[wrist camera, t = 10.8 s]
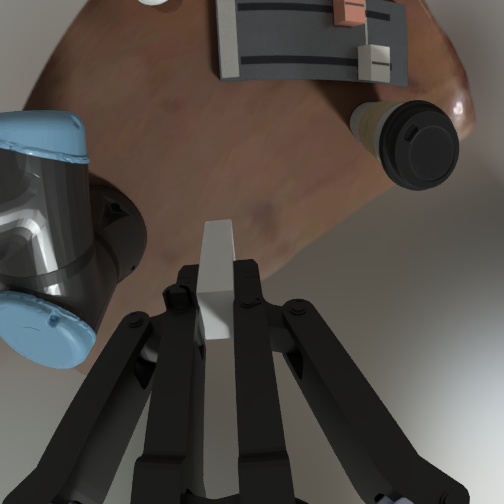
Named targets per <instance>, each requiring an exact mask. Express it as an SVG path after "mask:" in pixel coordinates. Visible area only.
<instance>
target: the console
mask: <svg viewBox="0 0 504 504" xmlns="http://www.w3.org/2000/svg"><path fill="white" fill-rule="evenodd" d="M215 1H216V19H217V35H218V51H219V67H220V81H221V82H229V81H244V80H267V79H317V80H340V81H355V82H367V83H377V84H386V85H395V86H402V87H408V51H407V25H406V10H405V5H402V4H398V3H394V2H389V1H384V0H364V4H365V19H366V23H364V24H361V25H358V26H355V27H348V26H339V25H334V9H333V0H215ZM370 44H371V45H379V46H385V47H389V48H390V83H388V82H379V81H370V80H358V46H364V45H370Z"/></svg>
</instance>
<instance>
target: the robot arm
mask: <svg viewBox="0 0 504 504" xmlns="http://www.w3.org/2000/svg"><path fill="white" fill-rule="evenodd" d="M88 163H89V156H88V155H87V148H86V136H85V125H84V122H83V121H82V119H81V118H80V117H79V116H78V115H77V114H75V113H73V112H69V111H60V110H31V111H14V112H5V113H0V336H1V338H2V339H3V340H4V341H5V342H6V343H7V344H8V345H9V346H11V347H12V348H13V349H14V350H16V351H17V352H18V353H20V354H22V355H23V356H24V357H26V358H28V359H30V360H32V361H34V362H36V363H39V364H42V365H44V366H48V367H52V368H62V369H64V368H72V367H74V366H76V365H78V364H80V363H82V362H83V361H84V360H85V358H86V357H87V355H88V353H89V351H90V349H91V347H92V346H93V344H94V343H95V341H96V335H97V332H98V329H99V327H100V324H101V322H102V319H103V317H104V314H105V312H106V309H107V307H108V304H109V302H110V299H111V297H112V295H113V292H114V290H115V288H116V285H117V284H118V283H120V282H121V281H122V280H123V279H124V278H125V277H127V276H128V275H130V274H131V273H132V272H133V271H134V270H135V269H136V267H137V266H138V265H139V263H140V261H141V259H142V256H143V254H144V252H145V248H146V244H147V231H146V226H145V223H144V220H143V218H142V216H141V214H140V212H139V211H138V209H137V208H136V206H135V205H134V204H133V203H132V202H131V201H130V200H129V199H128V198H127V197H126V196H124V195H123V194H121V193H120V192H118V191H116V190H114V189H112V188H109V187H105V186H99V185H90V186H89V177H88ZM162 294H163V298H164V301H165V305H166V308H167V309H166V312H164V313H162V314H160V315H157V316H153V317H149V315H148V314H147V313H145V312H142V311H136V312H132V313H130V314H128V315H126V316H125V317H124V318H123V319H122V321H121V322H120V324H119V325H118V327H117V328H116V330H115V332H114V333H113V335H112V336H111V338H110V339H109V341H108V343H107V344H106V346H105V347H104V349H103V351H102V352H101V354H100V355H99V357H98V359H97V360H96V362H95V364H94V365H93V367H92V368H91V370H90V372H89V373H88V375H87V377H86V379H85V380H84V382H83V383H82V385H81V387H80V389H79V391H78V392H77V394H76V396H75V397H74V399H73V401H72V402H71V404H70V406H69V408H68V410H67V411H66V413H65V415H64V416H63V418H62V420H61V422H60V424H59V426H58V427H57V429H56V431H55V433H54V435H53V437H52V438H51V440H50V442H49V444H48V446H47V448H46V450H45V452H44V454H43V455H42V457H41V459H40V461H39V463H38V465H37V467H36V469H34V470H33V471H32V472H31V473H30V475H28V476H27V477H26V478H25V479H24V480H23V481H22V482H21V483H20V484H19V485H18V486H17V487H16V488H15V489H14V490H13V491H12V492H11V493H9V495H7V497H6V498H5V499H4V501H3V503H2V504H103V502H104V500H105V498H106V496H107V493H108V491H109V488H110V486H111V484H112V481H113V479H114V476H115V474H116V472H117V469H118V467H119V464H120V462H121V460H122V457H123V455H124V453H125V450H126V448H127V446H128V443H129V441H130V439H131V436H132V434H133V432H134V429H135V427H136V425H137V422H138V420H139V418H140V416H141V413H142V411H143V409H144V407H145V404H146V402H147V400H148V397H149V395H150V393H151V391H152V393H151V399H150V406H149V413H148V420H147V427H146V435H145V443H144V450H143V454H142V456H140V457H138V458H137V460H136V462H135V466H134V474H133V482H132V492H131V503H130V504H308V503H307V502H305V501H302V500H300V499H298V498H295V496H294V490H293V482H292V475H291V468H290V462H289V457H288V454H287V451H286V446H285V438H284V431H283V424H282V418H281V411H280V404H279V397H278V390H277V384H276V377H275V370H274V363H273V356H272V351H275V352H282V354H283V357H284V359H285V361H286V363H287V365H288V366H289V368H290V370H291V372H292V374H293V376H294V378H295V380H296V381H297V383H298V385H299V387H300V389H301V390H302V393H303V395H304V397H305V398H306V400H307V402H308V404H309V406H310V408H311V410H312V412H313V413H314V415H315V417H316V419H317V421H318V423H319V424H320V426H321V428H322V430H323V432H324V434H325V436H326V437H327V439H328V441H329V443H330V445H331V447H332V448H333V450H334V452H335V454H336V456H337V457H338V459H339V461H340V463H341V465H342V467H343V468H344V470H345V472H346V474H347V476H348V477H349V479H350V481H351V483H352V485H353V486H354V488H355V490H356V491H357V493H358V494H359V496H360V497H361V499H362V500H363V501H364V502H365V503H366V504H469V502H470V496H469V493H468V490H467V489H466V488H465V487H464V486H463V485H462V484H460V483H459V482H457V481H456V480H454V479H453V478H451V477H450V476H448V475H447V474H445V473H444V472H442V471H441V470H439V469H438V468H436V467H435V466H434V465H432V464H430V463H429V462H428V461H426V460H425V459H423V458H422V457H420V456H419V455H418V453H417V452H416V450H415V449H414V447H413V446H412V444H411V443H410V441H409V440H408V439H407V437H406V436H405V434H404V433H403V431H402V430H401V428H400V427H399V426H398V424H397V423H396V421H395V420H394V418H393V417H392V415H391V414H390V413H389V411H388V410H387V408H386V407H385V405H384V404H383V403H382V401H381V400H380V398H379V397H378V395H377V394H376V393H375V391H374V390H373V388H372V387H371V385H370V384H369V383H368V381H367V380H366V378H365V377H364V375H363V374H362V373H361V371H360V370H359V369H358V367H357V366H356V364H355V363H354V362H353V360H352V359H351V357H350V356H349V354H348V353H347V352H346V350H345V349H344V347H343V346H342V345H341V343H340V342H339V341H338V339H337V338H336V336H335V335H334V333H333V332H332V331H331V329H330V328H329V327H328V325H327V324H326V322H325V321H324V320H323V318H322V317H321V315H320V314H319V313H318V311H317V310H316V309H315V307H314V306H313V305H312V304H311V303H310V302H309V301H307V300H304V299H292V300H290V301H287V302H286V303H285V304H284V305H283V306H277V305H273V304H270V303H268V302H266V300H265V299H264V298H263V295H262V289H261V282H260V275H259V269H258V264H257V263H256V262H255V261H254V260H253V259H248V260H236V261H235V253H234V243H233V233H232V222H231V219H228V220H217V221H206V222H205V227H204V234H203V242H202V249H201V257H200V264H196V265H184V266H183V267H182V268H181V270H180V271H179V273H178V278H177V282H176V284H173V285H171V286H169V287H167V288H166V289H165V290H164V292H163V293H162ZM204 337H206V339H222V338H234V352H235V353H234V354H235V380H236V403H237V425H238V446H239V458H238V475H239V490H240V491H239V494H235V495H232V496H228V497H224V498H220V499H208V498H206V493H205V488H204V482H203V440H204V439H203V438H204V392H205V390H204V389H205V362H206V361H205V360H206V346H205V342H204Z"/></svg>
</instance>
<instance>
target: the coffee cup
mask: <svg viewBox="0 0 504 504" xmlns="http://www.w3.org/2000/svg"><path fill="white" fill-rule="evenodd" d="M350 129H351V131H352V133H353V135H354V136H355V137H356V138H357V139H358V140H359V141H360V142H361V143H362V144H363V146H364V147H365V148H366V149H367V150H368V151H369V152H370V153H371V154H372V155H373V156H374V157H375V158H376V159H377V160H378V161H379V162H380V163H381V164H382V166H383V169H384V170H385V172H386V174H387V175H388V176H389V178H390V179H391V180H392V181H393V182H394V183H396V184H397V185H399V186H401V187H403V188H407V189H410V190H415V191H421V190H426V189H429V188H433V187H436V186H438V185H440V184H441V183H443V182H444V181H445V180H446V179H447V178H448V177H449V176H450V175H451V173H452V172H453V170H454V168H455V166H456V163H457V160H458V156H459V140H458V135H457V132H456V130H455V128H454V126H453V124H452V122H451V120H450V118H449V117H448V116H447V114H446V113H445V112H444V111H443V110H441V109H440V108H438V107H437V106H435V105H434V104H432V103H430V102H427V101H422V100H414V101H409V102H392V101H380V102H366V103H362V104H361V105H359V106H358V107H357V108H356V109H355V110H354V111H353V113H352V115H351V118H350Z"/></svg>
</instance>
